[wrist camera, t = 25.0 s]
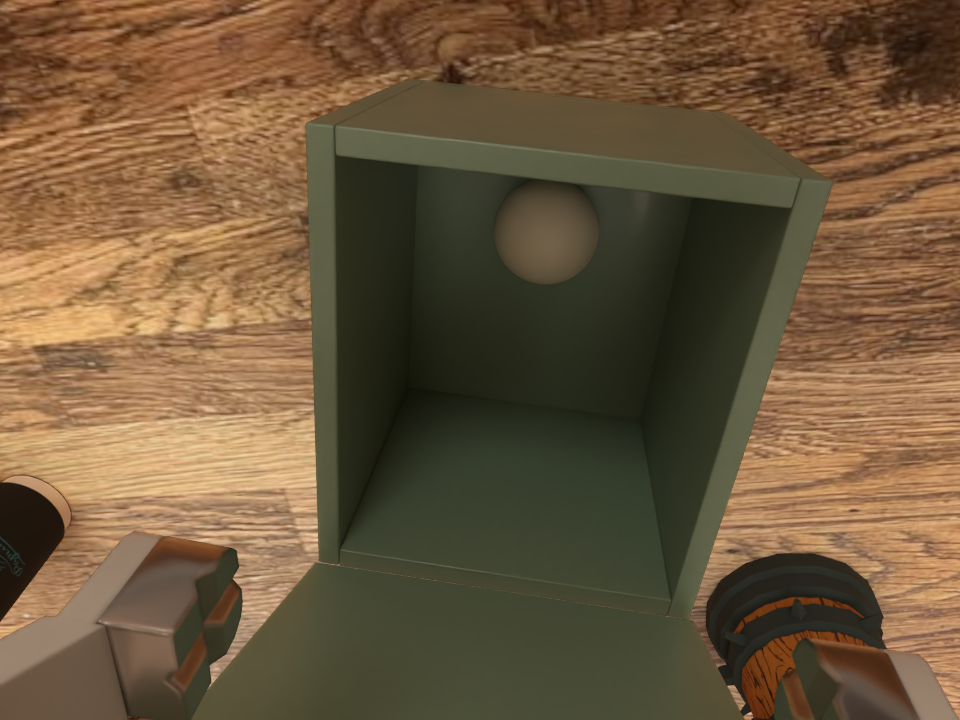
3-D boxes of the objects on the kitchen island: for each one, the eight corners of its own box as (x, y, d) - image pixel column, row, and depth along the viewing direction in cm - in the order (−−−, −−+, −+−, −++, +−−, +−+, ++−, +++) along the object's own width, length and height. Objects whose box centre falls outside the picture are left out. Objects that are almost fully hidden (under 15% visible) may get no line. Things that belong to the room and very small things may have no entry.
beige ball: (505, 162, 29) (492, 184, 26) (607, 174, 29) (609, 199, 25) (495, 258, 32) (481, 292, 28) (590, 271, 31) (590, 307, 27)
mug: (875, 535, 37) (992, 736, 27) (886, 663, 41) (991, 878, 31) (637, 570, 40) (660, 761, 30) (669, 685, 44) (699, 888, 34)
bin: (407, 78, 29) (304, 122, 18) (728, 113, 28) (835, 182, 17) (396, 390, 36) (318, 562, 25) (651, 425, 35) (689, 620, 24)
